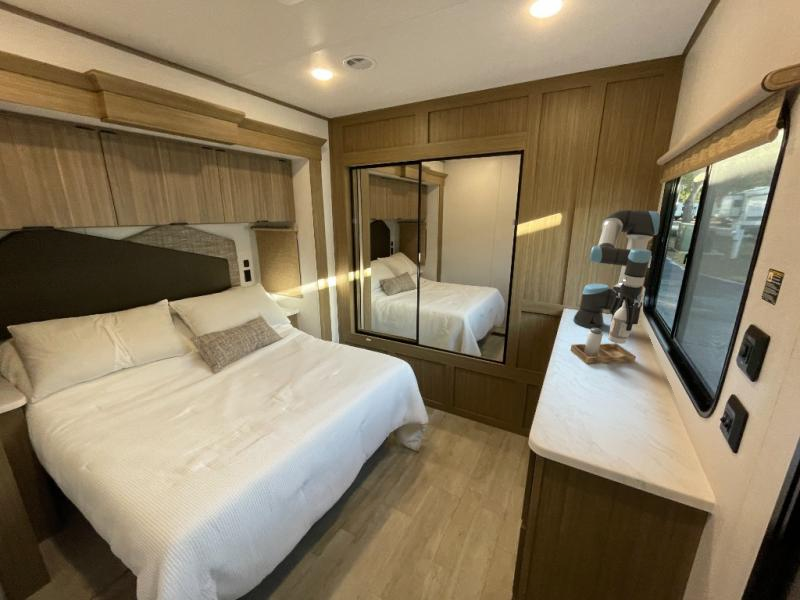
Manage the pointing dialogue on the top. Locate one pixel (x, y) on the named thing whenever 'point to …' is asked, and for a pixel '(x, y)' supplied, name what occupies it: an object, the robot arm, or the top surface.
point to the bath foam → (618, 325)
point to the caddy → (604, 354)
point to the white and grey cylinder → (593, 342)
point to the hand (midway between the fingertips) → (618, 332)
